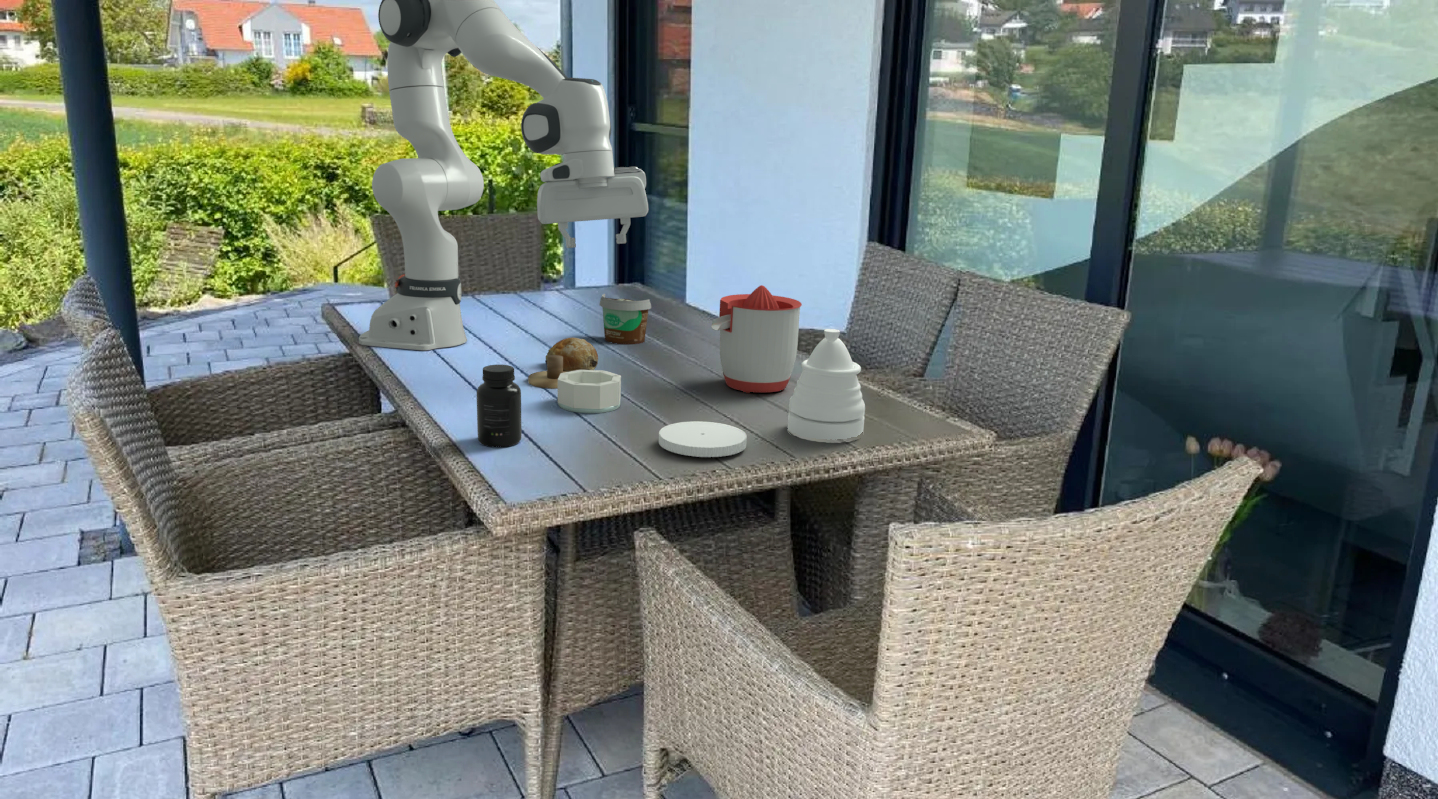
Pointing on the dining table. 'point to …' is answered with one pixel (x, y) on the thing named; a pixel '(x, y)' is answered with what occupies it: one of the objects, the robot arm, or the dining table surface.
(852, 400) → the honey pot
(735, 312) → the citrus juicer
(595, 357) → the bread roll
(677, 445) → the plastic lid
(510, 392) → the supplement bottle
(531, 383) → the wooden lid
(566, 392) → the octagonal jar
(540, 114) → the robot arm
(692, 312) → the dining table surface
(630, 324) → the food container
